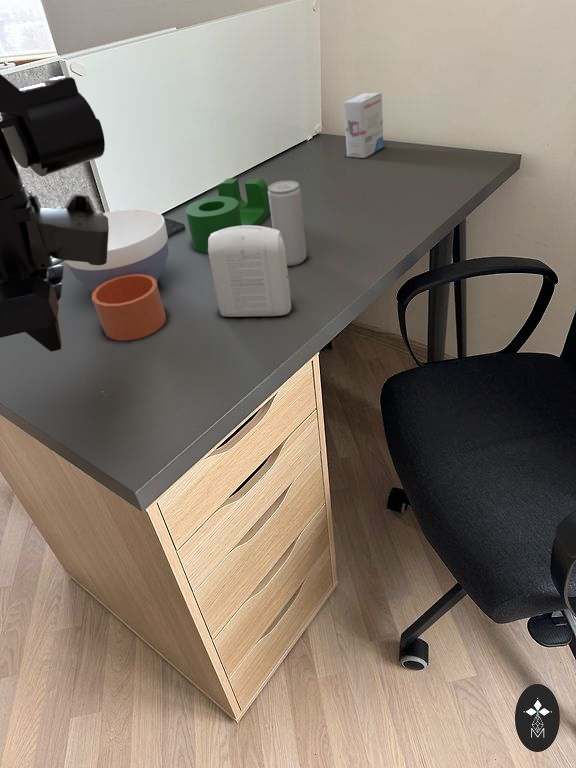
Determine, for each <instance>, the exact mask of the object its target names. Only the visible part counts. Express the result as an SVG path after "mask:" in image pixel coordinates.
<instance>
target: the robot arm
mask: <svg viewBox="0 0 576 768" xmlns="http://www.w3.org/2000/svg"><path fill="white" fill-rule="evenodd" d="M105 148H106V142H105V134H104V130H103V127H102V124H101V121H100V119H98V118H97V117H96V114H95V112H94V110H93V108H92V107H91V105H90V104H89V102H88V100H87V99H86V98H85V97H84V96H83V95H82V94H81V93H80V92H79V89H78V86H77V83H76V79H75V78H73V77H72V76H63V75H61V76H56V77H53V78H50V79H47V80H45V81H44V82H42V83H40V84H36V85H32V86H31V85H30V86H28V87H23V88H20V89H19V88H18V87H17V86H16V85H14V84H13V83H12V82H11V81H9V80H8V79H7V78H6V77H5V76H4V75H3V74H1V73H0V339H2V338H5V337H10V336H14V335H18V334H23V333H25V334H27V335H28V336H29V337H31V338H32V339H33V340H35V341H36V342H37V343H39V344H40V345H41V346H43V347H44V348H45V349H46V350H48V351H49V352H57V351H61V350H62V338H61V331H60V324H59V308H60V307H59V301H60V300H61V297H62V291H63V283H62V281H63V279H64V269H65V267H64V264H57V265H54V262H53V259H56V260H62V261H65V260H69V261H79V262H88V263H89V264H90V265H104V264H106V263H107V249H108V233H109V226H108V218H107V217H106V216H105V215H103V213H104V211H101V210H99V211H98V213H97V210H96V207H95V206H94V204H93V201H92V200H91V197H90V196H89V195H87V194H80V193H72V194H71V196H70V197H69V199H68V201H67V202H66V204H65V205H64V208H63V206H62V205H57V206H56V208H48V207H42V205H41V202H40V200H39V198H38V195H37V194H36V193H35V194H33V192H32V190H27V189H26V187H25V184H24V182H23V180H22V179H23V178H22V177H21V174H20V172H19V170H18V166H17V165H16V163H17V164H18V165H19V166H20V167H21V168H23V169H28V168H30V169H31V170H32V171H33V172H34V173H35V174H37V175H38V176H40V177H46V176H48V175H52V174H54V173H57V172H61V171H63V170H67V169H69V168H72V167H76V166H78V165H81V164H85V163H87V162H90V161H94V160H96V159H99V158H102V156H104V153H105Z"/></svg>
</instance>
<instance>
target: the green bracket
mask: <svg viewBox="0 0 576 768" xmlns="http://www.w3.org/2000/svg"><path fill="white" fill-rule="evenodd" d="M244 186H245V187H244V188H245V194H246V200H247V201H246V200H244V199H243V198H242V196H241V195H242V194H241V189H240V182H239V178H232V177H231V178H229V177H228V178H225V179H224V180H223V181H222V182H221V183H219V184H218V185H217V193H218V196H210V197H205V198H202V199H199V200H196V201H194V202H192V203H190V204H188V205H187V206H186V208H185V215H186V220H187V225H188V228H189V232H190V235H191V236H190V237H191V241H192V246H193V249H194V250H196V251H197V252H200V253H203V254H209V253H208V238H209V237H210V235H211V234H212V233H214V232H216V231H219V230H222V229H225V228H229V227H234V226H244V225H252V226H261V224H262V222H264V220H265V219H267V218H268V216H269V215H271V211H270V204H269V196H268V191H269V189H268V183H267V182H266V181H265V180H264V179H262V178H249V179H248V180H247V181H246V182H245V183H244Z"/></svg>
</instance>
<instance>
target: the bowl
mask: <svg viewBox="0 0 576 768" xmlns="http://www.w3.org/2000/svg"><path fill="white" fill-rule="evenodd" d="M103 215H105V216H106V217H107V218H108V226H109V233H108V249H107V263H106V264H104V265H90V264H89V263H88V262H79V261H69V260H64V262H65V263H66V265H67V267H68V268H69V270H70V271H71V272H72V275H73V276H74V277H75V278H76V279H77V280H78V281H79V282H81V284H82V285H84V287H86V288H87V289H88V290H89V291H92V292H94V291H95V289H96V288H97V287H98V286H100V285H101V284H103V283H104V282H106V281H109V280H111V279H114V278H116V277H120V276H124V275H130V274H144V275H149V276H151V277H153V278H154V279H156V282H157V283H159V278H160V277H161V276H162V274H163V273H164V271H165V268H166V264H167V260H168V257H169V239H168V238H169V237H168V236H169V235H168V231H167V225H166V220H165V217H164V216H163V215H162V214H161V213H159V212H158V211H155V210H152V209H145V208H125V209H117V210H113V211H112V210H111V211H106V212H103Z"/></svg>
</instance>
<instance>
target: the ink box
mask: <svg viewBox="0 0 576 768" xmlns="http://www.w3.org/2000/svg"><path fill="white" fill-rule="evenodd" d="M343 111H344V114H343V115H344V126H345V127H344V128H345V142H346V144H345V145H346V157H350V158H358V159H359V158H360V159H365V158H367V157H369V156H371V155H373V154H374V153H376V152H378V151H380V150H381V149H383V148H384V122H383V121H384V120H383V119H384V118H383V93H381V92H364V93H362V94H359V95H357V96H355V97H352V98H349V99H348V100H346V101H344V102H343Z"/></svg>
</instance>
